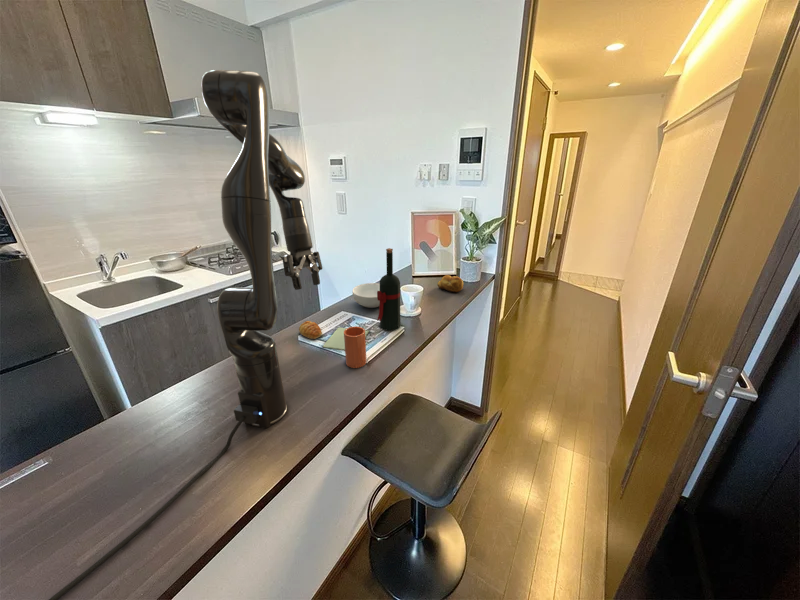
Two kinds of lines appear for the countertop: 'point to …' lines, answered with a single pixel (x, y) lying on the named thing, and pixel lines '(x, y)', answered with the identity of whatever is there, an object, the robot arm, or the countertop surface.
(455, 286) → the bread roll
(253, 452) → the countertop surface
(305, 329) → the pastry
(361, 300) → the cereal bowl
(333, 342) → the board
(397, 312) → the wine bottle
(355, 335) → the cup
